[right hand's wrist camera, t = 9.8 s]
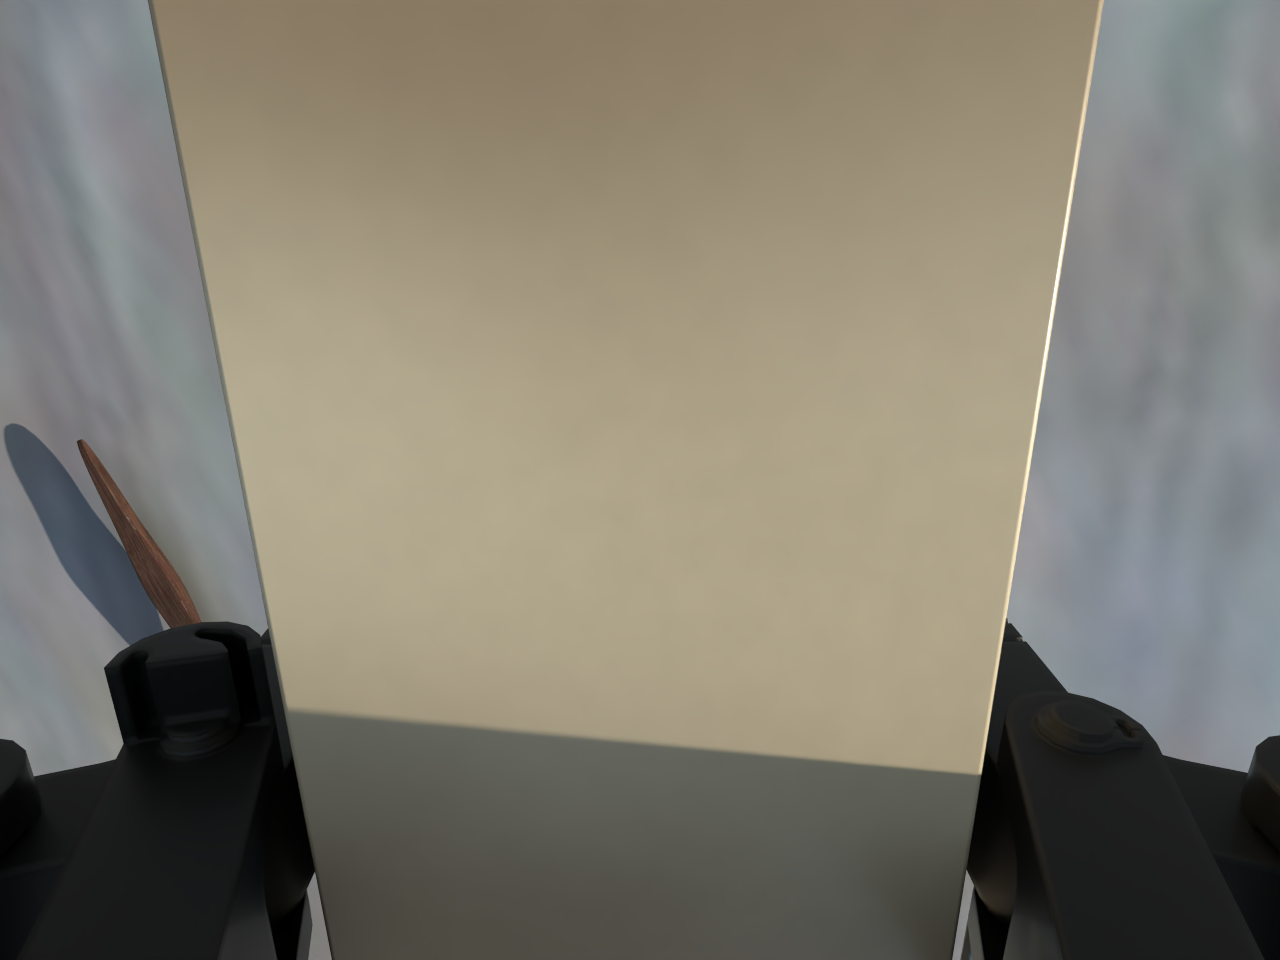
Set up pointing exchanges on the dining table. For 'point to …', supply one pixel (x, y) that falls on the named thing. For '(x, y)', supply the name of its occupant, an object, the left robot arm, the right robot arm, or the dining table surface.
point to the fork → (142, 549)
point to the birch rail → (633, 445)
